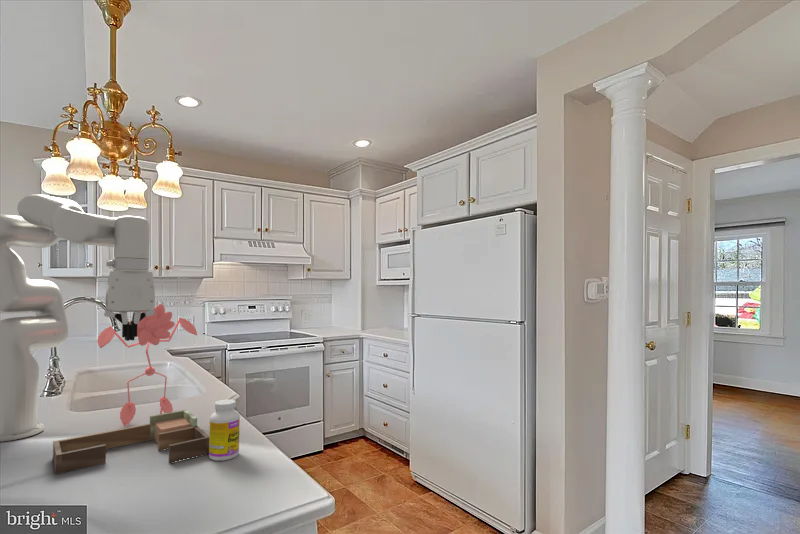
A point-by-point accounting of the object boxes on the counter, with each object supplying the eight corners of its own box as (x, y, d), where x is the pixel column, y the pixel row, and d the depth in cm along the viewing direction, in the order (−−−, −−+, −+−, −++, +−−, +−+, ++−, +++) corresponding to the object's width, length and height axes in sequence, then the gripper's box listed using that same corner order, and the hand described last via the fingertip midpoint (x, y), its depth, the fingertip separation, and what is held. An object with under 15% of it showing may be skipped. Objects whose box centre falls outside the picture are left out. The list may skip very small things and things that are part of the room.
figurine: (91, 426, 125) (96, 304, 126) (187, 409, 143) (191, 301, 144) (101, 442, 114) (106, 307, 115) (204, 421, 132) (207, 304, 132)
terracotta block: (154, 440, 115) (154, 422, 116) (182, 434, 120) (183, 417, 120) (160, 447, 110) (160, 429, 110) (190, 441, 115) (190, 423, 115)
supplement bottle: (228, 463, 100) (229, 406, 101) (202, 460, 102) (203, 404, 102) (244, 452, 107) (245, 399, 107) (220, 449, 108) (221, 397, 109)
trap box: (52, 458, 102) (53, 432, 103) (185, 431, 121) (186, 409, 122) (58, 491, 87) (59, 460, 87) (210, 453, 106) (211, 428, 106)
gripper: (97, 264, 101) (94, 344, 101) (168, 266, 111) (166, 339, 110) (93, 265, 107) (90, 341, 106) (161, 267, 117) (159, 336, 116)
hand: (129, 339), depth 108 cm, fingers closed
